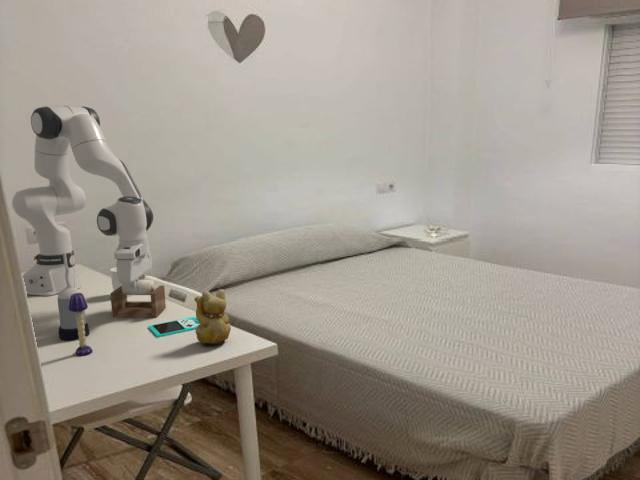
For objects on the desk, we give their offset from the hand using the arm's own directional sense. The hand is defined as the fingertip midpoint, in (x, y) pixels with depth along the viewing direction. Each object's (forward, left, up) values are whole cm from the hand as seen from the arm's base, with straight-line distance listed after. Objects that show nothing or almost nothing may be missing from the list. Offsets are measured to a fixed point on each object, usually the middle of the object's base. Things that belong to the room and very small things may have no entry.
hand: (138, 289), depth 179 cm
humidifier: (-12, -20, -8) cm, 25 cm away
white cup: (-13, +19, -8) cm, 25 cm away
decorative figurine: (+31, -25, -8) cm, 41 cm away
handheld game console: (+17, -13, -9) cm, 23 cm away
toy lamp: (-3, -33, -8) cm, 34 cm away
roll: (0, +1, -2) cm, 2 cm away
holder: (0, 0, -8) cm, 8 cm away
